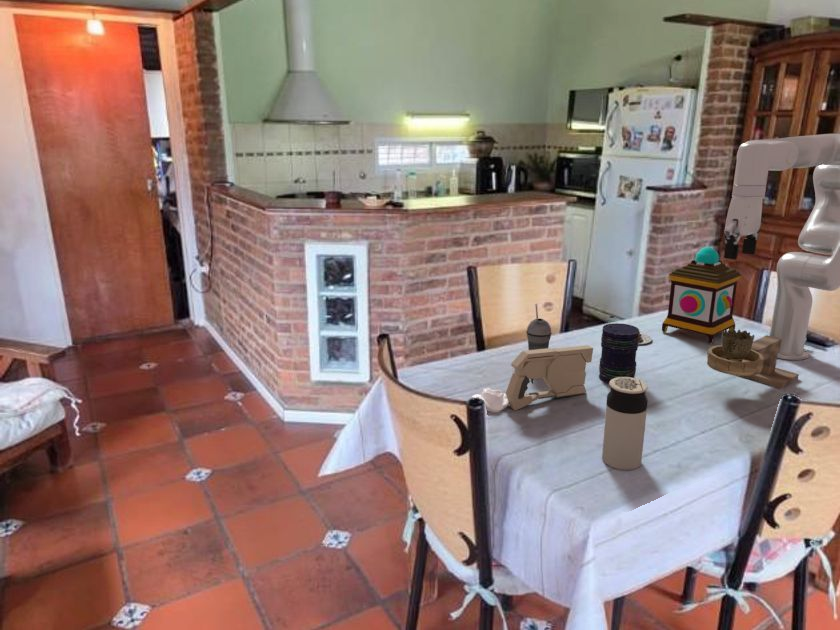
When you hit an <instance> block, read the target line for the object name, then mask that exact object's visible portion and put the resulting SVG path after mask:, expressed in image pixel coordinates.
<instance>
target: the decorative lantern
mask: <svg viewBox="0 0 840 630" xmlns="http://www.w3.org/2000/svg"><path fill="white" fill-rule="evenodd" d="M719 255H720V254H719V253H718V252H717V250H715V248H713V247H711V246H705V247H702V248H701V249H700V250H699V251H698V252H696V255H695V259H693V260H691V261H690V263H687V265H685V266H681V267H678V268H676V269H675V270H673V271H671V273H669V274H668V277H669V280H670V291H669V302H668V309H667V315H666V317H665V319H664V320H663V322H662V324H661V331H662V333H664V334H665V333H667V331H668V327H670V328H674V329H679V330H682V331H687V332H691V333H694V334H699V335H702V336H705V337H707V343H708V345H711V344H712V343H713V341H714V337H716V335H719V334H722V331H724V332H725V330H729V329H731V331H732V330H733V329H734V330H735V331H736V322H735V320H734V317H733V314H734V313H733V312H734V305H735V299H736V293H737V284H738V281H739V280H740V279H741V278H742V274H741V273H740V272H739V271H737V269H736V268H733V267H732V268H731V267H729V266H728V265H726V264H725V263H723V261H722V260H720V256H719Z"/></svg>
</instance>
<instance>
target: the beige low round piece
mask: <svg viewBox="0 0 840 630" xmlns="http://www.w3.org/2000/svg"><path fill="white" fill-rule="evenodd" d="M638 335H639V342H638V346H639V345H640V346H641V345H647V344H650V343H651V342H652V341H653V338H652V336H650V335H648V334H645V333H643V332H641V331H640V330H639V334H638ZM642 340H644V341H643V342H642Z"/></svg>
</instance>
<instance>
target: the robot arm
mask: <svg viewBox="0 0 840 630" xmlns="http://www.w3.org/2000/svg"><path fill="white" fill-rule="evenodd" d="M812 167H815V168H814V171H813V174H812V180H813V181H812V183H813V188H814V193H815V194H814V196H815V202H814V207H813V208H812V211H811V213H810V214H809V216H808V219H807V220H806V222H805V223H804V225H803V227H802V230H801V232H800V233H799V236H798V239H797V243H798V246H799V249H800V248H801V249H802V250H804V251H807V252H803V251H791V252H789V251H788V252H786V253H784V254H783V255H782V256H781V257H779V260H778V261H777V265H776V278H777V279H776V281H777V282H776V294H775V300H774V305H773V311H772V318H771V326H770V332H769V335H768V336H772V337H776V338H780V339H782V341H781V347H780V352H779V353H778V355H777V359H781V360H789V361H801V360H806V359H808V358H809V356H810V352H809V350H807V349H806V348H805V345H806V342H807V340H808V338H807V332H808V329H809V327H808V326H809V322H810V317H811V312H812V307H813V301H814V300H813V295H812V292H811V289H810V288H812V289H817V290H821V291H827V292H832V291H837V290H838V289H839V288H840V133H823V134H812V135H799V136H798V135H797V136H789V137H782V138H766V139H765V138H764V139H754V140H753V139H752V140H747V141H746V142H744V143H741V144H740V145H739V147H738V150H737V153H736V164H735V171H734V178H733V185H732V186H733V187H732V192H731V197H732V198H731V200H730V203H729V207H728V209H727V215H726V219H725V227H724V234H725V235H724V237H725V238H724V239H725V241H724V242H725V243H724V244H725V246H724V247H725V248H724V254H723V258H724V259H728V260H734V261H735V260H738V256H739V248H740V244H738V243H739V241H740V240H741V238H743V237H745V238H743V244H742V250H741V253H742V254H745V255H746V254H747V255H756V250H757V249H756V247H757V242H758V238H759V233H760V231H761V230H760V228H761V225H762V221H761V219H762V213H763V212H762V211H763V199H765V196H766V189H767V182H768V175H769V171H775V172H776V171H777V172H778V171H779V172H780V171H781V172H782V171H786V170H788V169H804V168H812ZM809 252H810V253H809ZM821 254H822V255H821ZM827 255H828V256H827Z"/></svg>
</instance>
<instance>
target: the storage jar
mask: <svg viewBox="0 0 840 630" xmlns="http://www.w3.org/2000/svg"><path fill="white" fill-rule="evenodd" d="M609 318H610V319H614V318H615V316H614V315H610V316H609ZM639 331H640V328H638V327H636V326H634V325H632V324H627V323H619V322H618V323H617V322H616V323H615V322H614V323H607V324H604V325H603V326H602V332H601V340H600V341H601V342H600V347H601V356H600V359H599V364H598V366H599V367H598V371H599V374H598V378H599V381H601V382H603V383H604V384H605V383H606V384H608V385H610V384H609V382H610V380H612V379H614V378H617V377H631V378H635V376H636V374H637V373H636V371H637V361H636V359H637V358H636V357H637V351H638V348H639V345H638V343H640V341H639V335H638V334H639Z"/></svg>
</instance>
